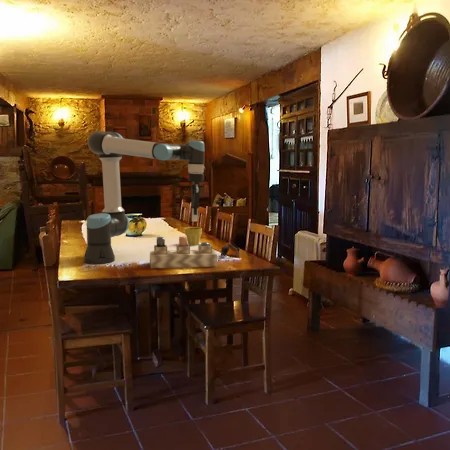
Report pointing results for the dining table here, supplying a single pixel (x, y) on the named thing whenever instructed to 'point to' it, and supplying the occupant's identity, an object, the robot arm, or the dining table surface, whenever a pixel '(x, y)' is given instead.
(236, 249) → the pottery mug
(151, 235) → the dining table surface
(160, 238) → the knob near
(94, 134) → the robot arm
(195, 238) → the plant pot
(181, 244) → the knob middle
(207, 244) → the knob far
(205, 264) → the beige long block
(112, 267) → the dining table surface
